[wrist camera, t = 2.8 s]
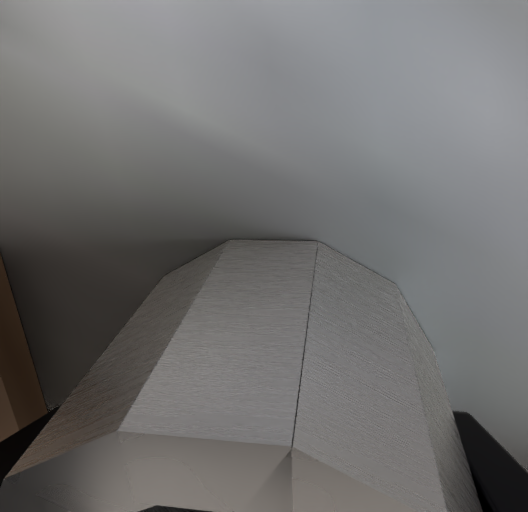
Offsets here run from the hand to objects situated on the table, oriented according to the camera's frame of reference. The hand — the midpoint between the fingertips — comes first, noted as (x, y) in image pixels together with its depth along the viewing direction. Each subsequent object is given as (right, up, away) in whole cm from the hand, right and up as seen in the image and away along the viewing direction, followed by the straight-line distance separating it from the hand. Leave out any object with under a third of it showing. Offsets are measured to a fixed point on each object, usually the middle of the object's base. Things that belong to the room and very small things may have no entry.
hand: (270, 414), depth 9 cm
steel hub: (0, 0, +1) cm, 1 cm away
